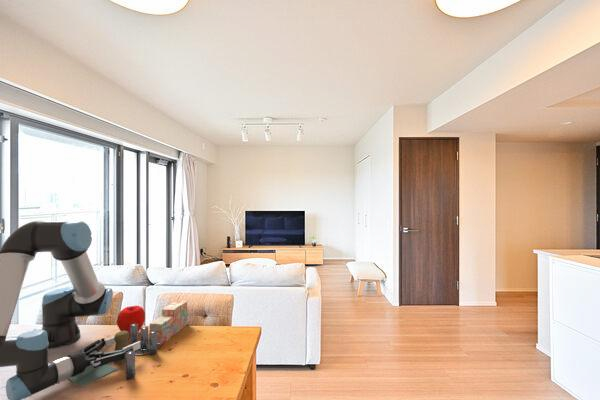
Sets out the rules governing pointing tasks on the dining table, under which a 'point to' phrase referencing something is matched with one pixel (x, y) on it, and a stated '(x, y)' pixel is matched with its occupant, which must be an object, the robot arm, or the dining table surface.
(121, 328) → the apple
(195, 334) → the dining table surface
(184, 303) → the stack of blocks
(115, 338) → the cork
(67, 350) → the dining table surface
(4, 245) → the robot arm
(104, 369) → the mat
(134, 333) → the spacer posts
